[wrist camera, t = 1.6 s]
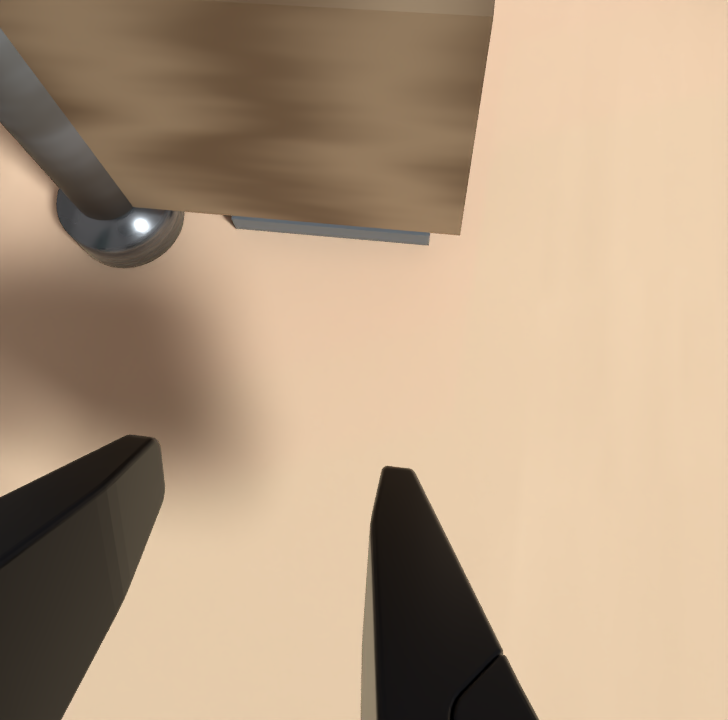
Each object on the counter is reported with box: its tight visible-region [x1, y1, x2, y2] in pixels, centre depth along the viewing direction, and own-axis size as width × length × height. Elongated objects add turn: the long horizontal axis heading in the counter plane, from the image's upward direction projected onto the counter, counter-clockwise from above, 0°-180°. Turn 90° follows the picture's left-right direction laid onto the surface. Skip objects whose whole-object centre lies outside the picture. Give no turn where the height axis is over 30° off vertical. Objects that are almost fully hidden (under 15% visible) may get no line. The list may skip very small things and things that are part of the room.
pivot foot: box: [56, 188, 184, 268], centre depth 24 cm, size 4×4×2 cm
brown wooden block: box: [0, 0, 495, 235], centre depth 19 cm, size 13×7×10 cm, turn 83°
